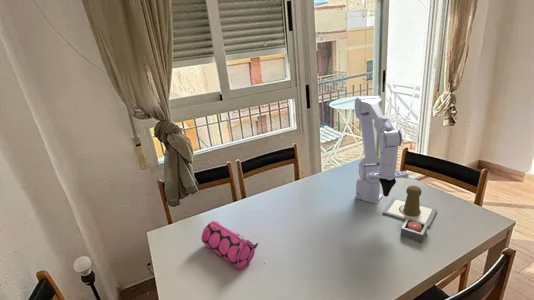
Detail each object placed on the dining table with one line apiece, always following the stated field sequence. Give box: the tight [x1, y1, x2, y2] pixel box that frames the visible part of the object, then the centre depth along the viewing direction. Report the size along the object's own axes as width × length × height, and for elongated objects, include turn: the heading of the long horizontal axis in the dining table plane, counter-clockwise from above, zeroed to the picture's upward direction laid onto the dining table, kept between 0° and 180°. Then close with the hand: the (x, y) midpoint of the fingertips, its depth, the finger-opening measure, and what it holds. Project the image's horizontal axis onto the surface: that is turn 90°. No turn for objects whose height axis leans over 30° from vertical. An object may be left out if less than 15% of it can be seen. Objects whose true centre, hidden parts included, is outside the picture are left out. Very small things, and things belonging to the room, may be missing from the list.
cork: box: [403, 185, 422, 216], centre depth 119 cm, size 6×6×11 cm
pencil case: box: [201, 220, 259, 270], centre depth 107 cm, size 21×10×10 cm, turn 49°
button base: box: [399, 218, 429, 244], centre depth 110 cm, size 7×7×4 cm
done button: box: [407, 222, 422, 233], centre depth 109 cm, size 4×4×2 cm
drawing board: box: [381, 197, 438, 229], centre depth 122 cm, size 17×13×1 cm
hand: (385, 195), depth 116 cm, fingers closed
